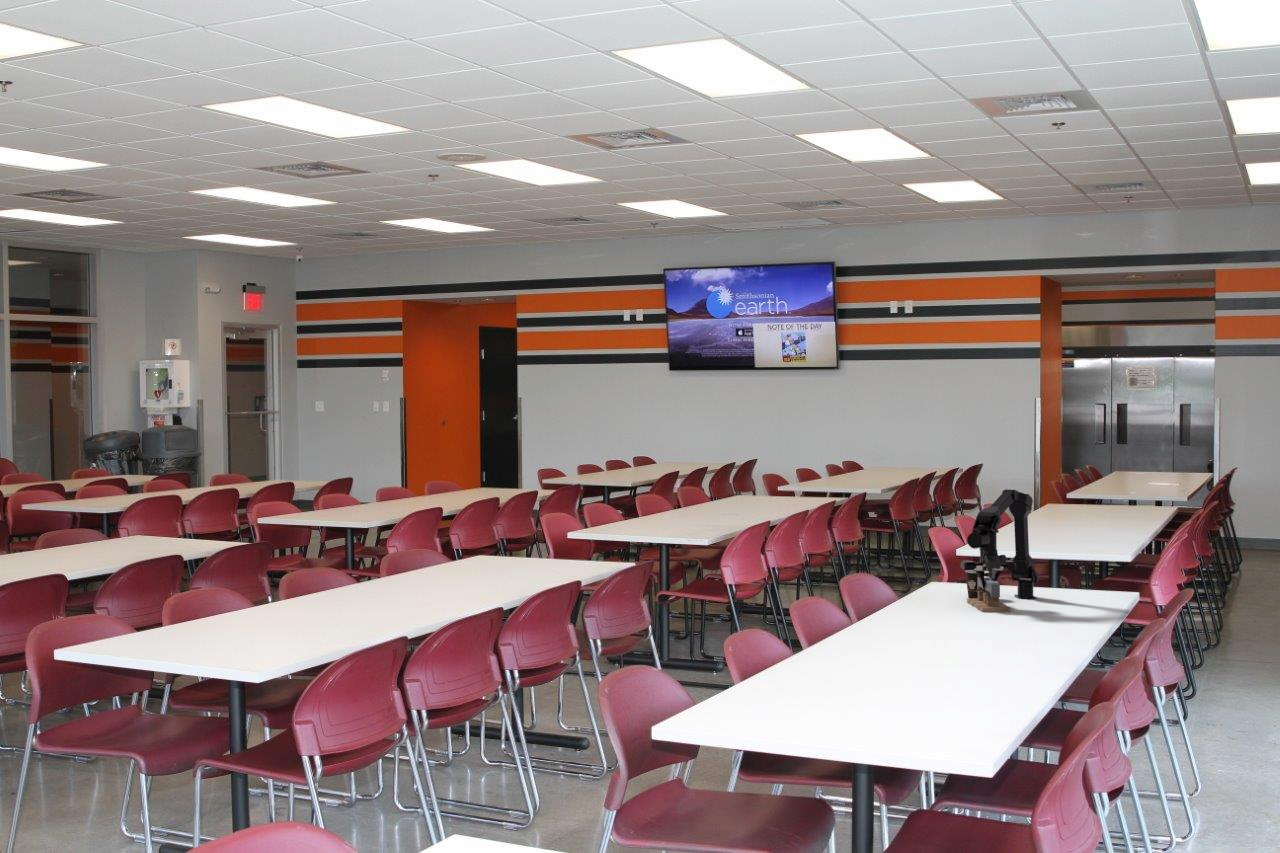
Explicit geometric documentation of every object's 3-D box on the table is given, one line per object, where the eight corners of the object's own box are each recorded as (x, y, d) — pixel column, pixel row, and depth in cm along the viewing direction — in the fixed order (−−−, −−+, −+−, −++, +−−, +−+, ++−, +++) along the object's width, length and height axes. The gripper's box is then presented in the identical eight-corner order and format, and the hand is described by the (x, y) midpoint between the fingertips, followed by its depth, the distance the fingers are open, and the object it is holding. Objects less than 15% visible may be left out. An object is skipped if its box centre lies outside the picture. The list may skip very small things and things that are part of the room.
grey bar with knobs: (976, 589, 449) (976, 575, 449) (987, 589, 449) (986, 575, 449) (989, 597, 431) (989, 582, 431) (1001, 597, 431) (1001, 582, 431)
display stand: (967, 602, 450) (967, 589, 450) (994, 602, 450) (994, 589, 450) (982, 611, 430) (982, 597, 430) (1010, 611, 430) (1010, 597, 430)
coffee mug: (960, 596, 463) (960, 570, 463) (980, 595, 466) (980, 569, 465) (978, 601, 452) (978, 574, 452) (998, 600, 455) (998, 573, 454)
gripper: (968, 548, 431) (968, 592, 432) (1021, 548, 431) (1021, 592, 432) (960, 545, 443) (960, 587, 443) (1011, 544, 442) (1011, 587, 443)
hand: (988, 589), depth 440 cm, fingers closed on grey bar with knobs, 3 cm apart
